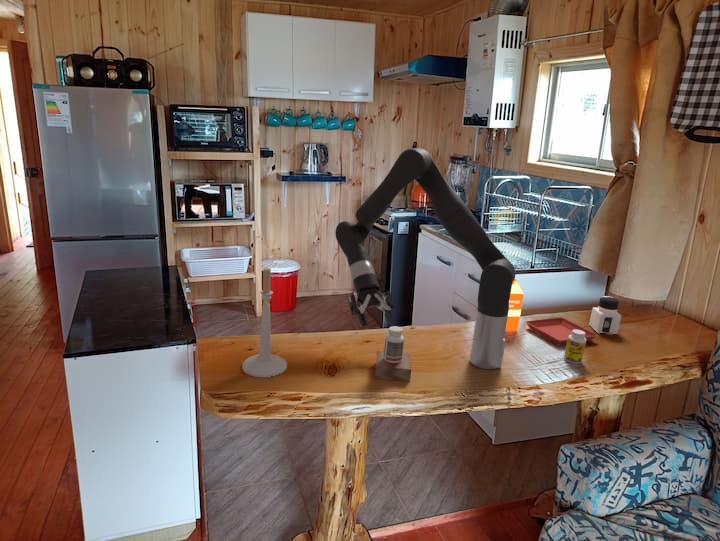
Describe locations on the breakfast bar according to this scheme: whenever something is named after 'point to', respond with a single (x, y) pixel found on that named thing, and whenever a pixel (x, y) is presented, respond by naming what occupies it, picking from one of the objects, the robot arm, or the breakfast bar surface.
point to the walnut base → (393, 368)
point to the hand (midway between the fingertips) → (378, 324)
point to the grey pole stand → (265, 341)
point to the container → (606, 316)
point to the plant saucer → (557, 329)
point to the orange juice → (514, 307)
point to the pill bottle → (394, 345)
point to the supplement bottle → (575, 347)
